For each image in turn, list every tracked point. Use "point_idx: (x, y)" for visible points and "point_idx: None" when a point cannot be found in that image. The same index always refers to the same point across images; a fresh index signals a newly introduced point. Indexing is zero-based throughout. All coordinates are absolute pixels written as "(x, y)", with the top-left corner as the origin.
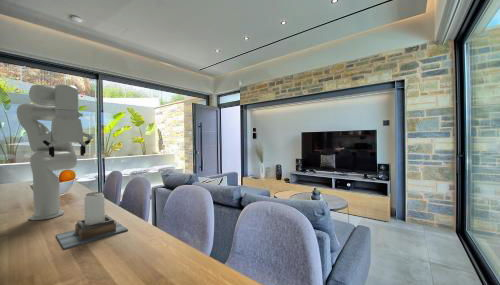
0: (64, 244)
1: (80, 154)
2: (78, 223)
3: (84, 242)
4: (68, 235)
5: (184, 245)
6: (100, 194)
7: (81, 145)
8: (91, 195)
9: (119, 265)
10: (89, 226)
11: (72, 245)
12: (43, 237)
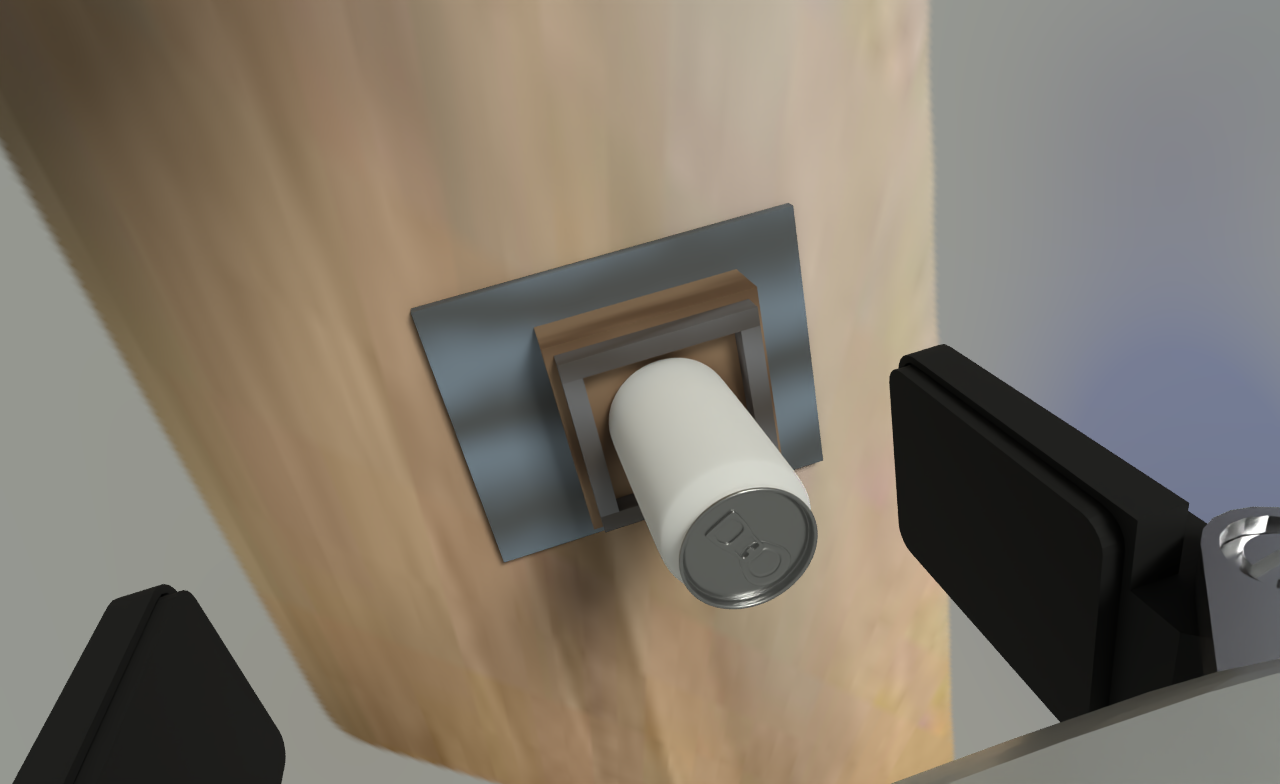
0: (500, 520)
1: (901, 387)
2: (568, 406)
3: (597, 530)
4: (498, 378)
5: (948, 721)
6: (789, 579)
7: (1158, 669)
8: (721, 607)
9: (714, 772)
10: (638, 519)
11: (542, 548)
12: (325, 281)
